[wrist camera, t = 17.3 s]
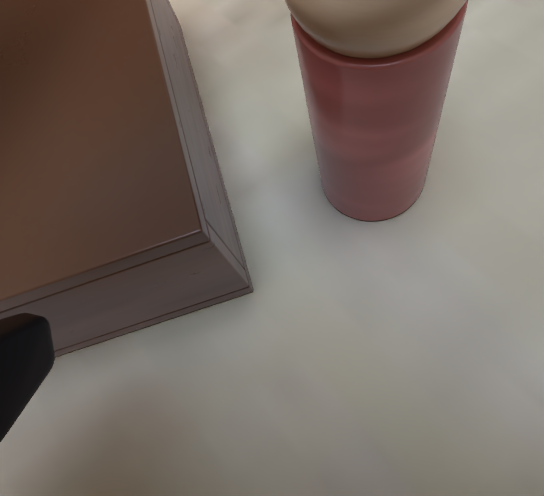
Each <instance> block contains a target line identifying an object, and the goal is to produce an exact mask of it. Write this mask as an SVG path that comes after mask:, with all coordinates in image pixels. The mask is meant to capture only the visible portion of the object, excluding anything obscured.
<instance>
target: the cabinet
mask: <svg viewBox="0 0 544 496" xmlns="http://www.w3.org/2000/svg"><path fill="white" fill-rule="evenodd" d="M252 291H253V287H252V283H251V280H250V276H249V273H248V269H247V265H246V262H245V258H244V255H243V251H242V247H241V244H240V240H239V237H238V233H237V229H236V226H235V222H234V218H233V215H232V211H231V208H230V204H229V200H228V197H227V193H226V190H225V186H224V182H223V179H222V175H221V171H220V168H219V164H218V161H217V157H216V153H215V150H214V146H213V143H212V139H211V135H210V132H209V128H208V125H207V121H206V117H205V114H204V110H203V106H202V103H201V99H200V96H199V92H198V88H197V85H196V81H195V78H194V74H193V70H192V67H191V63H190V60H189V56H188V52H187V49H186V45H185V41H184V38H183V34H182V31H181V27H180V24H179V22H178V19H177V17H176V15H175V13H174V11H173V9H172V7H171V5H170V2H169V0H0V319H3V318H6V317H9V316H13V315H16V314H19V313H30V314H35V315H39V316H43V317H45V318H46V319H47V320H48V322H49V324H50V329H51V334H52V340H53V346H54V352H55V357H57V356H60V355H63V354H66V353H69V352H72V351H75V350H78V349H81V348H84V347H87V346H90V345H93V344H96V343H99V342H102V341H105V340H108V339H111V338H114V337H117V336H120V335H123V334H126V333H129V332H132V331H135V330H138V329H141V328H144V327H147V326H150V325H153V324H156V323H159V322H162V321H165V320H168V319H171V318H174V317H178V316H181V315H184V314H187V313H190V312H193V311H196V310H199V309H202V308H205V307H208V306H211V305H214V304H217V303H220V302H223V301H226V300H229V299H232V298H235V297H238V296H241V295H244V294H247V293H250V292H252Z"/></svg>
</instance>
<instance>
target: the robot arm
mask: <svg viewBox="0 0 544 496" xmlns="http://www.w3.org/2000/svg"><path fill="white" fill-rule="evenodd" d="M54 360H55V352H54V346H53V340H52V334H51V329H50V324H49V322H48V320H47V319H46V318H45V317H43V316H39V315H35V314H30V313H19V314H16V315H13V316H9V317H6V318H3V319H0V442H1V441H2V439H3V438H4V437H5V435H6V434H7V432H8V431H9V430H10V428H11V427H12V425H13V424H14V422H15V421H16V419H17V418H18V417H19V415H20V414H21V412H22V411H23V409H24V408H25V406H26V405H27V403H28V402H29V401H30V399H31V398H32V396H33V395H34V393H35V392H36V390H37V389H38V387H39V386H40V385H41V383H42V382H43V380H44V379H45V377H46V376H47V374H48V373H49V371H50V370H51V368H52V366H53V364H54Z"/></svg>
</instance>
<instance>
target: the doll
mask: <svg viewBox="0 0 544 496" xmlns="http://www.w3.org/2000/svg"><path fill="white" fill-rule="evenodd" d="M285 2H286V4H287V6H288V8H289V10H290V12H291V21H292V26H293V32H294V37H295V42H296V48H297V53H298V59H299V64H300V69H301V75H302V80H303V85H304V91H305V96H306V101H307V107H308V112H309V118H310V123H311V128H312V134H313V139H314V144H315V150H316V155H317V161H318V166H319V171H320V177H321V182H322V187H323V190H324V193H325V195H326V197H327V198H328V200H329V201H330V203H331V204H332V205H333V206H334V207H335V208H337V209H338V210H339V211H340V212H342V213H344V214H345V215H347V216H350V217H352V218H355V219H359V220H365V221H379V220H385V219H388V218H392V217H394V216H396V215H399V214H401V213H402V212H404V211H405V210H407V209H408V208H409V207H410V206H411V205H412V204H413V203H414V202H415V201H416V200H417V198H418V197H419V195H420V194H421V192H422V189H423V187H424V183H425V179H426V175H427V171H428V167H429V162H430V158H431V154H432V150H433V146H434V142H435V137H436V133H437V129H438V125H439V121H440V117H441V113H442V108H443V104H444V100H445V96H446V92H447V88H448V83H449V79H450V75H451V71H452V67H453V63H454V58H455V54H456V50H457V46H458V42H459V38H460V34H461V29H462V25H463V21H464V17H465V13H466V8H467V3H468V0H285Z"/></svg>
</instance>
